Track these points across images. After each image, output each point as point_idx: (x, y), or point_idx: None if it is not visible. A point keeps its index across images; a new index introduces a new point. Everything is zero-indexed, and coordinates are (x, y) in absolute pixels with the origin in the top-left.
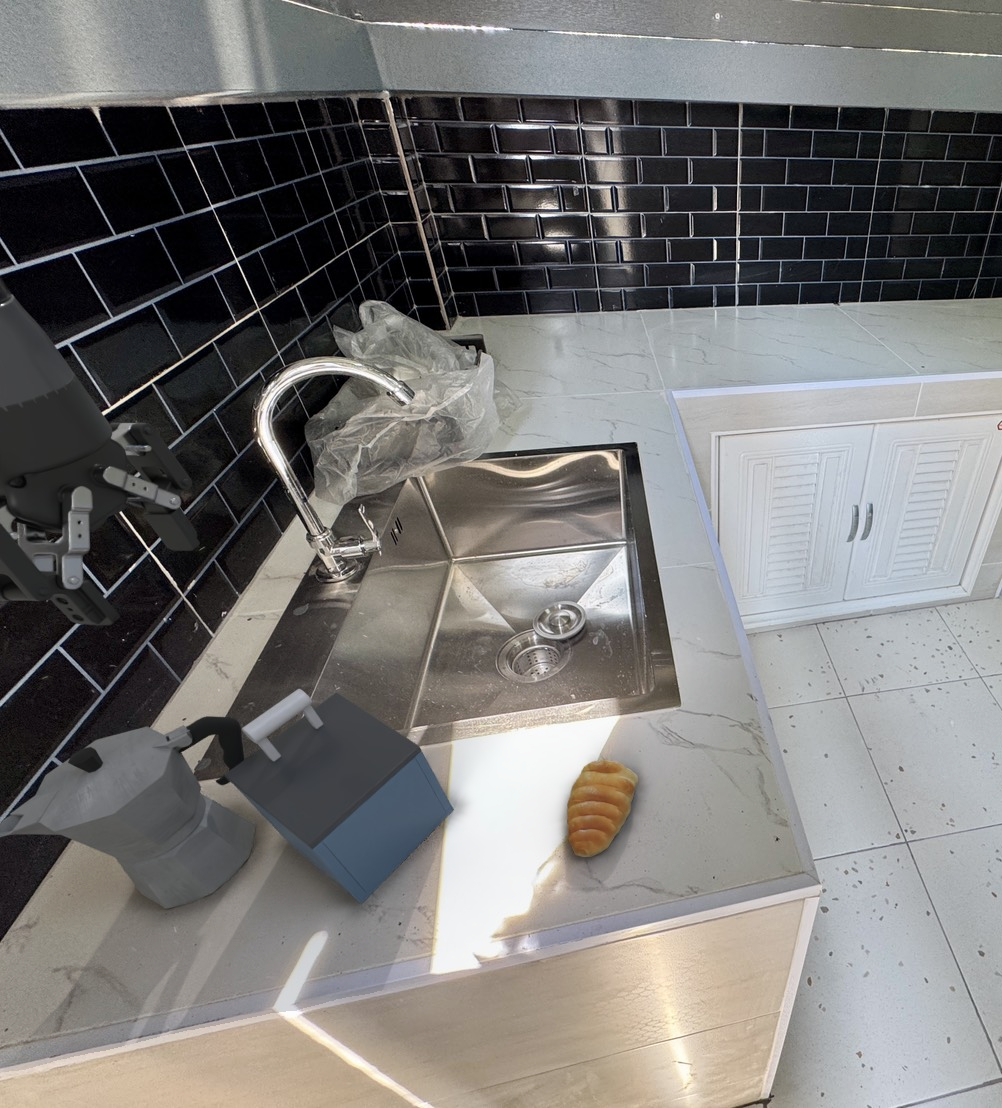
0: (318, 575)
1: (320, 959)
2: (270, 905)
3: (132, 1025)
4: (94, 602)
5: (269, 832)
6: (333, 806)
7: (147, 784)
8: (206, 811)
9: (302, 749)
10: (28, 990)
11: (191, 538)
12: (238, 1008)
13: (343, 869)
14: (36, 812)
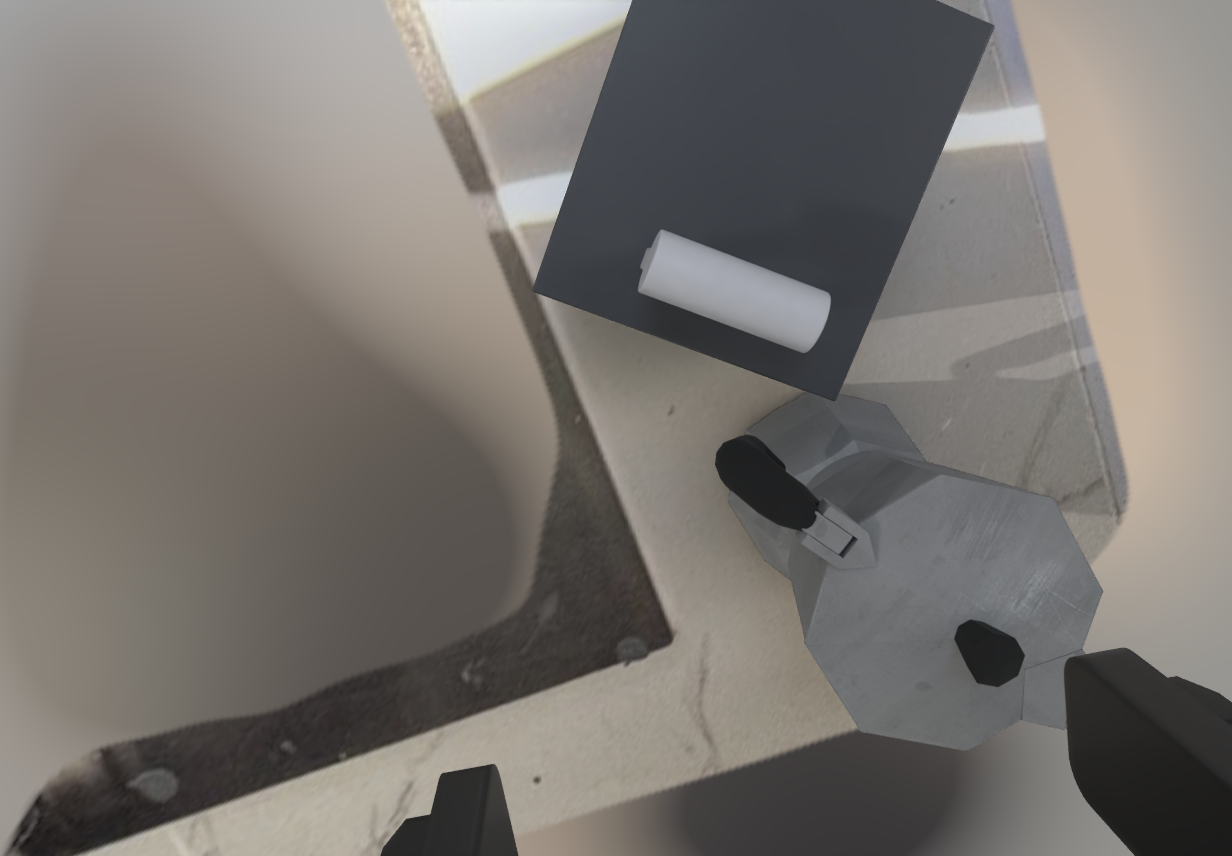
0: (16, 837)
1: (974, 103)
2: (890, 277)
3: (1090, 367)
4: (1230, 728)
5: (754, 392)
6: (889, 30)
7: (972, 487)
8: (827, 462)
9: (735, 249)
10: None
11: (466, 801)
12: (1058, 203)
13: None
14: None
